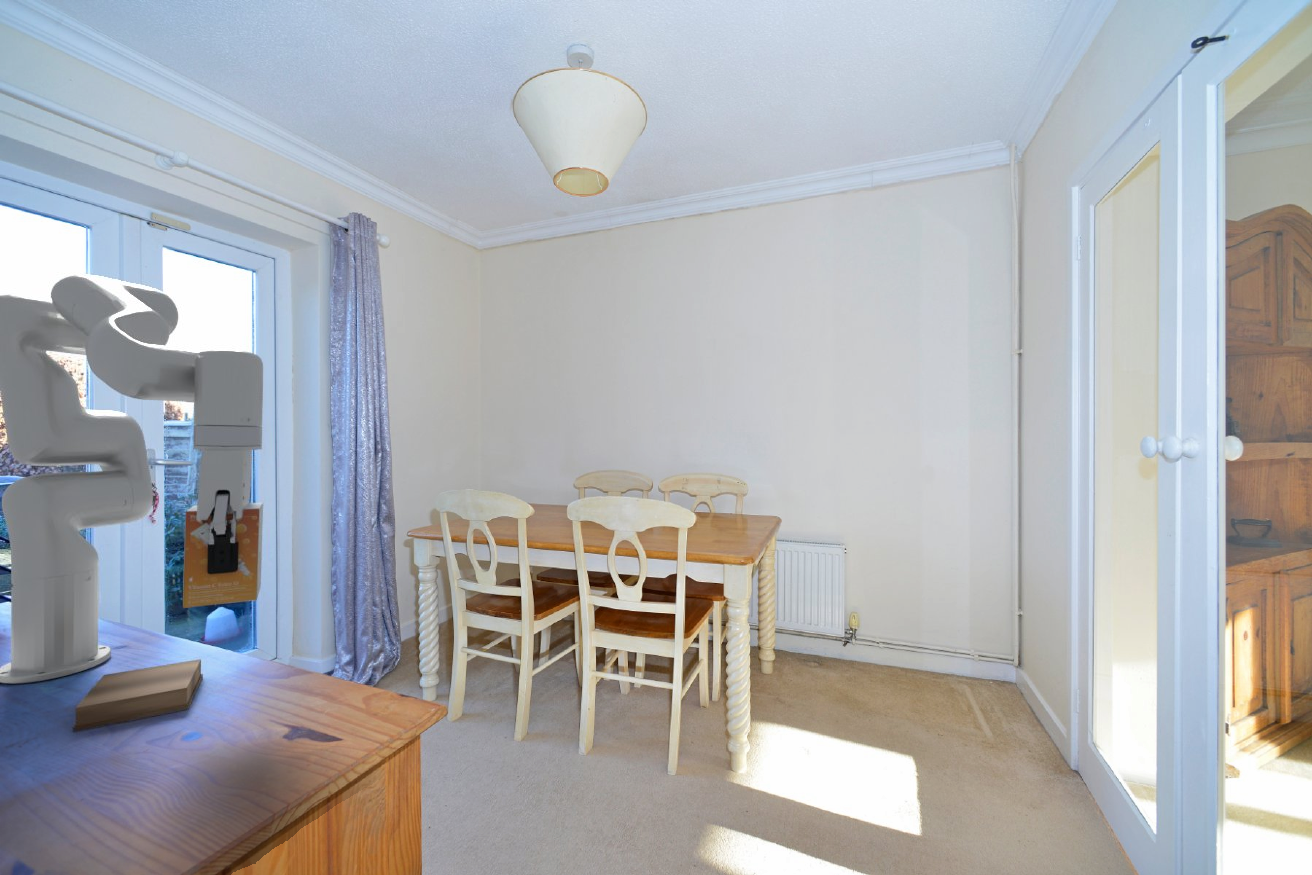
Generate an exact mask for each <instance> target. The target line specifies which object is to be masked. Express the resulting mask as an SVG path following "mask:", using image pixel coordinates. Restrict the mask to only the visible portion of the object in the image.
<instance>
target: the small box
mask: <svg viewBox="0 0 1312 875" xmlns="http://www.w3.org/2000/svg"><path fill="white" fill-rule="evenodd" d="M233 513H234V511H233ZM228 519H233V514H227V520H228ZM184 520H185V521H184V525H185V526H184V545H183V546H184V549H183V550H184V552H183V554H184V555H183V580H182V583H183V584H182V586H183V587H182V588H183V589H182V608H183V609H188V608H196V607H202V606H212V605H213V606H214V605H223V604H224V605H225V604H232V603H241V602H242V603H243V602H254V601H257V600H258V597H259V594H260V590H261V585H262V559H263V554H262V552H263V521H264V503H263V502H253V503H252V502H251V503H250V502H249V504H248V506H247V507H246V508H245V509H244V514H243V519H242V520H240V521H238V522H237V532H236V542H239V546H238V570H237V571H236V572H231V573H220V574H208V573H207V560H208V544H209V535H210V522H211V514H210V516H209V519H208V520H202V522H204V523H203V524H200V523H199V522H197V504H195V505H192V506H190V507H189V508H188V509H187V510H186V511H185V519H184ZM229 526H230V528H231V525H229ZM230 530H231V529H230ZM230 533H231V532H230Z"/></svg>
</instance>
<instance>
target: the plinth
mask: <svg viewBox="0 0 1312 875" xmlns="http://www.w3.org/2000/svg"><path fill="white" fill-rule="evenodd" d="M203 675H204V674H203V673H202V659H195V660H188V661H182V662H175V663H170V664H169V663H168V664H162V665H157V666H151V667H145V668H138V669H132V670H126V671H120V672H114V673H113V672H112V673H107V674H103V675H102V676H101V677H100V679H99V680H98V681H97V682H96V684H95V685H94V686H92V688H91V690H90V691H88V693H86V695H85V696H84V698H83V699H82V700H81V701H80V702H79V703H78V704H77V705H76V707H75V722H74V725H73V726H72V733H77V732H80V731H86V730H90V729H94V728H101V727H105V726H106V727H107V726H110V725H111V726H112V725H117V724H121V723H125V722H126V721H127V722H131V721H137V720H141V719H146V718H151V717H156V716H161V715H166V714H167V715H168V714H171V713H177V712H181V711H187V710H189V708H190V707H191V704H192V702H193V700H194V698H195V695H196V693H197V691H198V689H199V687H200V684H201V682H202V681H203V677H204V676H203Z"/></svg>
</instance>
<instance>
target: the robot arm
mask: <svg viewBox="0 0 1312 875" xmlns="http://www.w3.org/2000/svg"><path fill="white" fill-rule="evenodd" d="M178 322H179V312H178V308H177V306H176V303H175V302H174V301H173V299H171V297H170V296H169V295H167V294H166V293H165V292H163V291H162V290H158V289H156V288H152V287H150V286H145V285H142V284H136V283H130V282H126V281H121V280H118V279H114V278H113V279H112V278H108V277H104V276H99V275H95V274H94V275H91V274H76V275H75V274H73V275H70V276H65V277H64V278H62V279H60V280H58V281H57V282H56V283H54V285H53V286H52V289H51V292H50V298H49V297H48V298H47V297H42V296H35V295H34V296H33V295H26V294H25V295H24V294H4V295H2V294H1V295H0V398H1V407H2V412H3V420H4V425H5V426H4V427H5V431H6V439H7V444H8V447H9V450H10V453H11V455H12V457H13V458H14V459H15V460H16V461H17V462H19V463H21V464H24V465H27V466H34V467H35V466H37V467H62V466H63V467H64V466H65V467H67V466H86V465H87V466H89V465H91V466H92V465H98V466H99V467H100V468H101V470H100V471H72V472H71V471H70V472H55V473H54V472H50V473H41V474H40V473H39V474H35V475H29V476H26V477H22V478H20V479H18V480H16V481H13V482H12V483H11V484H9V486H7V487H6V489H5V490H4V491H3V494H2V497H1V508H2V514H3V517H4V520H5V521H4V522H5V525H6V529H7V533H8V538H9V539H8V540H9V546H10V561H11V562H10V563H11V564H10V571H11V572H10V577H11V581H10V582H11V585H10V587H11V589H10V590H11V594H10V596H11V598H10V609H11V610H10V611H11V612H10V615H11V616H10V618H11V619H10V662H8V663H5V664H4V665H2V666H1V667H0V683H2V684H10V685H12V684H14V685H15V684H28V683H35V682H42V681H47V680H53V679H57V678H62V677H65V676H70V675H73V674H77V673H80V672H84V671H86V670H89V669H91V668H94V667H96V666H98V665H100V664H102V663H104V662H106V661H107V660H108V659H110V657H111V655H112V649H111V648H110V646H107V645H101V644H99V584H100V583H99V582H100V581H99V580H100V579H99V577H100V575H99V574H100V572H99V571H100V568H99V561H100V560H99V554H98V552H97V550H96V548H95V546H93V545H92V544H91V543H90V542H89V541H88V540H87V539H86V538H85V537H83V535H81V534H80V531H81V530H87V529H90V528H92V529H93V528H98V527H105V526H106V527H107V526H115V525H122V524H123V525H124V524H130V523H134V522H137V521H140V520H142V519H143V518H145V517H146V516H147V515H148V514H149V513H150V511H151V509H152V506H153V503H154V502H153V501H154V494H153V493H154V492H153V490H154V489H153V484H152V478H151V472H150V471H151V470H150V463H149V459H148V453H147V452H148V451H147V446H146V441H145V436H144V432H143V430H142V428H141V426H140V425H139V422H137V421H136V419H135V418H134V417H132V416H131V415H129V414H127V413H124V412H121V411H115V410H101V409H99V410H98V409H86V408H84V407H83V405H82V403H81V401H80V396H79V388H78V387H79V386H78V383H77V382H76V380H75V379H74V377H73V376H72V374H70V373H69V372H68V370H67V369H66V368H65V367H64V366H63V365H61V364H60V363H59V362H58V361H56V359H54V358H53V357H51V356H50V355H49V354H48V353H47V351H48V352H55V353H56V352H57V353H65V354H71V355H82V356H86V361H87V364H88V366H89V369H90V370H91V372H92V373H93V374H94V375H95V376H96V377H97V378H98V379H99V380H100V381H102V382H103V383H104V384H105V385H107V386H108V387H109V388H111V389H112V390H114V391H115V392H117V393H119V394H121V395H122V396H126V397H128V398H131V399H137V400H142V401H143V400H144V401H166V402H185V403H193V438H192V440H193V445H192V446H193V447H192V448H193V450H198V451H202V452H201V457H200V462H199V465H200V466H199V472H198V475H199V476H198V488H197V490H198V492H197V504H196V505H197V522H199V523H200V524H203V523H204V522H202V520H208V519H209V516H210V514H211V522H210V535H209V544H208V560H207V573H208V574H220V573H231V572H236V571H237V570H238V546H239V542H236V532H237V522H238V521H240V520H242V519H243V514H244V509H245V508H246V507H247V506H248V504H249V503H250V497H251V485H252V484H251V483H252V452H253V451H255V450H256V451H257V450H262V449H263V447H262V446H263V403H264V401H263V400H264V399H263V398H264V391H263V390H264V389H263V388H264V363H263V360H262V358H261V357H260V356H259V355H258V354H255V353H253V352H250V351H249V352H248V351H245V350H238V349H227V348H206V349H202V350H194V349H189V348H187V349H186V348H181V347H175V346H166V345H167V344H168V341H169V337H170V335H171V334H172V333H173V332H174V331H175V329H176V328H177V325H178ZM233 511H234V513H233ZM227 514H233V519H228V520H227ZM229 525H231V528H230V526H229ZM230 529H231V530H230ZM230 532H231V533H230Z"/></svg>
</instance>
